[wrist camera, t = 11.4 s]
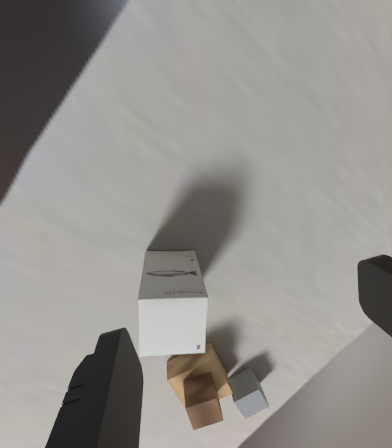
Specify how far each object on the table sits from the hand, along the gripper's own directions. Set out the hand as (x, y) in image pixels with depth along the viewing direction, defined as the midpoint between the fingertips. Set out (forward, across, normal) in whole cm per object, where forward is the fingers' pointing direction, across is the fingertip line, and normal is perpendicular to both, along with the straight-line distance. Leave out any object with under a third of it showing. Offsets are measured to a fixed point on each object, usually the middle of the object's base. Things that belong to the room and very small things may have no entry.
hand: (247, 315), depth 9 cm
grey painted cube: (+28, -2, +37) cm, 47 cm away
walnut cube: (+24, +5, +31) cm, 40 cm away
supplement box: (+28, +5, +12) cm, 31 cm away
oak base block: (+28, +5, +31) cm, 42 cm away
